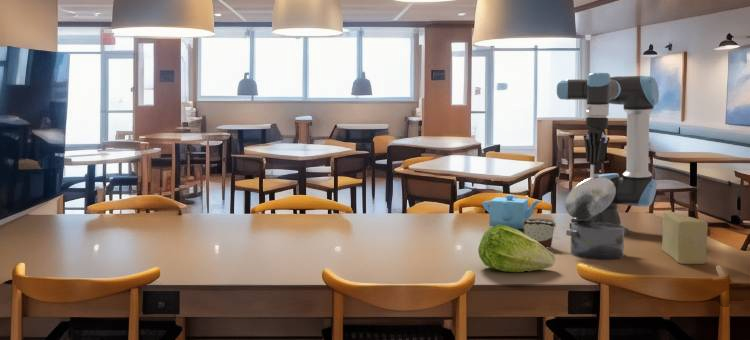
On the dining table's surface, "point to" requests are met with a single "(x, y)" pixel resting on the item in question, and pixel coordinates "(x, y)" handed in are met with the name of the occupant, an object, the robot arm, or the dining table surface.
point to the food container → (539, 230)
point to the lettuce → (513, 251)
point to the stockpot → (597, 240)
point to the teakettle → (509, 211)
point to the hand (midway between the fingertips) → (594, 182)
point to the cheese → (684, 238)
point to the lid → (589, 198)
